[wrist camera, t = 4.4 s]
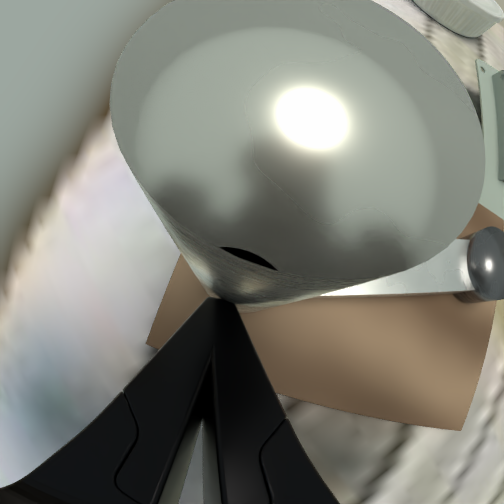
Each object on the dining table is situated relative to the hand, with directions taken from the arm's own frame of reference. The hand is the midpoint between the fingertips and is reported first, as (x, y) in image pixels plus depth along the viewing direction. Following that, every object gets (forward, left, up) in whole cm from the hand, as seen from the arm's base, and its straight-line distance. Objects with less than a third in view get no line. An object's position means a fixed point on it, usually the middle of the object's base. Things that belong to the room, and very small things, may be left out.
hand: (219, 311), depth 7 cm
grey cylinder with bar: (+4, -6, -5) cm, 9 cm away
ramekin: (+36, -11, -7) cm, 38 cm away
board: (+4, -6, -7) cm, 10 cm away
